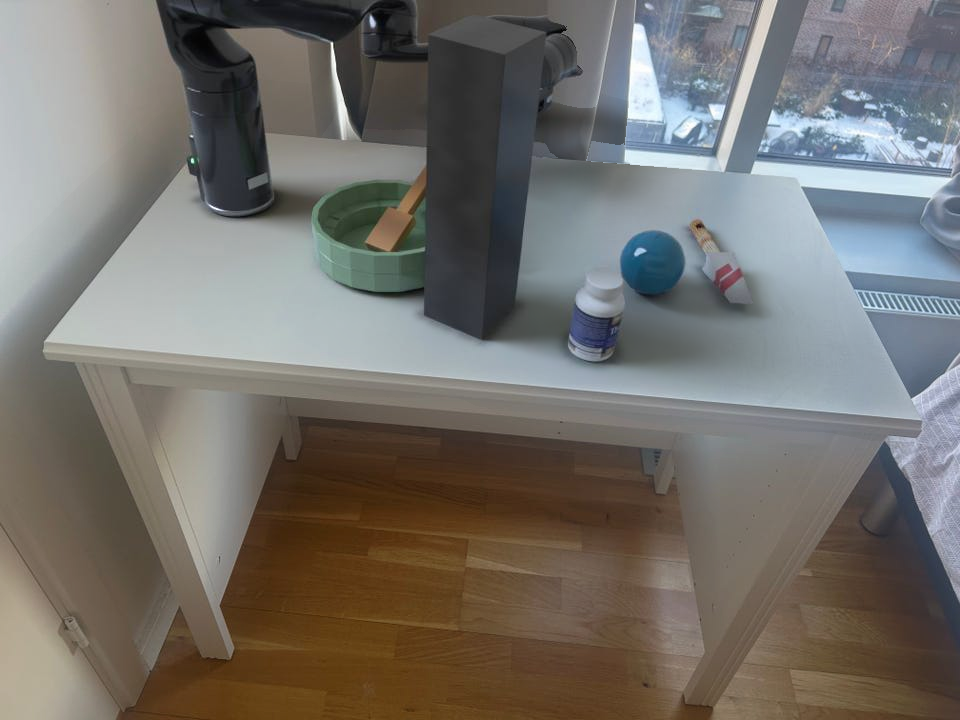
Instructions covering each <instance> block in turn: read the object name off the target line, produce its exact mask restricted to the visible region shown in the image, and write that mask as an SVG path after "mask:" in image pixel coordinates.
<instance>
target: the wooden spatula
mask: <svg viewBox="0 0 960 720" xmlns="http://www.w3.org/2000/svg"><path fill="white" fill-rule="evenodd" d="M425 196H426V165H425V166H424V167H423V168H422V170H421V172H420V173H419V174H418V176H417V177H416V179H415V181H414V184H413V185H412V187H411V188H410V190H409V191H408V193H407V194H406V196H405V197H404V199H403V200H402V202H401V203H400V205H399V206H398V208H397V209H394V208H391V207H388V208H387V210H386V211H385V213H384V214H383V216H382V217H381V218H380V220H379V221H378V223H377V224H376V226H375V227H374V229H373V230H372V232H371V233H370V235H369V236H368V238H367V239H366V241H365V244H366V245H367V247H368V249H370V250H373V251H375V252H398V250H399V249H400V247H401V246H402V244H403V243H404V241H405V240H406V238H407V237H408V235H409V234H410V232H411V231H412V229H413V228H414V226H415V224H416V223H417V222H416V220H415V218H414V216H413V214H414V213H415V211H416V210H417V208H418V207H419V205H420V204H421V202H422V201H423V199H424V198H425Z"/></svg>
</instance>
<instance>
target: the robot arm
mask: <svg viewBox="0 0 960 720" xmlns="http://www.w3.org/2000/svg"><path fill="white" fill-rule="evenodd" d="M155 4H156V8H157V12H158V16H159V19H160V22H161V28H162V30H163V35H164V39H165V43H166V47H167V50H168V53H169V55H170V58H171V60H172V62H173V63H174V65H175V66H176V68H177V69H178V71H179V75H180V80H181V85H182V89H183V94H184V99H185V105H186V108H187V114H188V118H189V123H190V128H191V133H190V134H189V135H188V142H189V147H190V152H191V155H189V156H187V157H186V163H187V169H188V173H189V175H191V176H194V177H195V178H196V179H197V180H196V181H197V185H198V186H197V187H198V191H199V196H200V200H203V201H204V202H205V206H206V208H207V209H208V210H209V211H211V212H213V213H215V214H217V215H221V216H225V217H247V216H252V215H256V214H258V213H262V212H263V211H265V210H267V209H268V208H270V207H271V206H273V204H274V203H275V191H274V189H273V182H272V173H271V165H270V159H269V158H270V157H269V150H268V142H267V136H266V129H265V121H264V114H263V106H262V100H261V99H262V98H261V91H260V85H259V77H258V70H257V63H256V60H255V57H254V55H253V53H251V51H249V50H248V49H247V48H246V47H245V46H243V45H242V44H241V43H240V42H238V40H236V39H235V38H234V37H233V36H232V35H231V34H230V32H229V31H228V30H244V29H245V30H246V29H248V30H249V29H273V30H275V29H276V30H280V31H282V32H284V33H285V34H286V35H289V36H291V37H294V38H297V39H301V40H305V41H312V42H319V43H325V44H332V43H336V42H339V41H341V40H343V39H345V38H346V37H348V36H349V35H350V34H351V33H353V32H354V31H355V30H356V29H357V27H359V25H360V24H361V53H362V55H363V56H364V57H365V58H367V59H369V60H372V61H376V62H380V63H390V64H424V63H427V64H428V42H423V43H419V42H418V19H419V11H418V4H417V1H416V0H155ZM547 15H548V14H545V15H537V16H523V15H507V14H495V15H488V16H486V17H487V18H491V19H495V20H499V21H503V22H507V23H511V24H515V25H519V26H523V27H527V28H531V29H535V30H539V31H543V32H546V41H545V50H544V59H543V67H542V76H541V85H540V93H539V102H538V110H537V118H538V117H539V116H540V115H541V114H542V113H544V112H545V111H546V110H548V108H549V107H551V106H552V104H553V103H552V102H553V94H554V88H555V87H556V85H557V84H559V83H561V81H563V80H564V79H568V78H577V77H576V76H580V75H581V74H582V73H583V70H582V69H581V68H580V67H579V66H578V65H577V51H576V47H575V45H574V43H573V41H572V40H571V39H570V38H569V37H568V36H566V35H564V34H561V33H562V32H563V31H566V30H567V29H566V27H567V26H566V27H565V26H564V25H561V24H558V23H554V22H551V21H550V20H548V16H547Z"/></svg>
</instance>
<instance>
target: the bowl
mask: <svg viewBox="0 0 960 720" xmlns="http://www.w3.org/2000/svg"><path fill="white" fill-rule="evenodd" d="M414 182H415V181H414ZM414 182H413V181H407V180H401V179H371V180H365V181H357V182H353V183H350V184H346V185H343V186H341V187H337V188H335V189H334V190H332V191H330V192H329V193H326V194H325V195H324V196H322V197H321V198H320V199H319V200H318V202H317V203H316V204H315V205H314V206H313V208H312V213H311V219H310V223H311V225H310V226H311V234H312V243H313V245H312V246H313V255H314V257H315V260H316V262H317V264H318V266H319V269H321V271H323V272H324V273H325V274H326V275H328V276H329V277H330V278H331V279H332V280H334V281H336V282H339V283H341V284H343V285H345V286H348V287H351V288H353V289H359V290H364V291H370V292H374V293H375V292H376V293H396V292H397V293H400V292H401V293H402V292H406V291H412V290H416V289H422V288H424V280H425V217H426V196H425V198H424V199H423V201H422V202H421V204H420V205H419V207H418V208H417V210H416V211H415V213H414V214H413V216H414V218H415V220H416V222H417V223H416V224H415V226H414V228H413V229H412V231H411V232H410V234H409V235H408V237H407V238H406V240H405V241H404V243H403V244H402V246H401V247H400V249H399V250H398V252H375V251H373V250H370V249H368V247H367V245H366V244H365V241H366V239H367V238H368V236H369V235H370V233H371V232H372V230H373V229H374V227H375V226H376V224H377V223H378V221H379V220H380V218H381V217H382V216H383V214H384V213H385V211H386V210H387V208H388V207H391V208H394V209H397V208H398V206H399V205H400V203H401V202H402V200H403V199H404V197H405V196H406V194H407V193H408V191H409V190H410V188H411V187H412V185H413V184H414Z"/></svg>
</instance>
